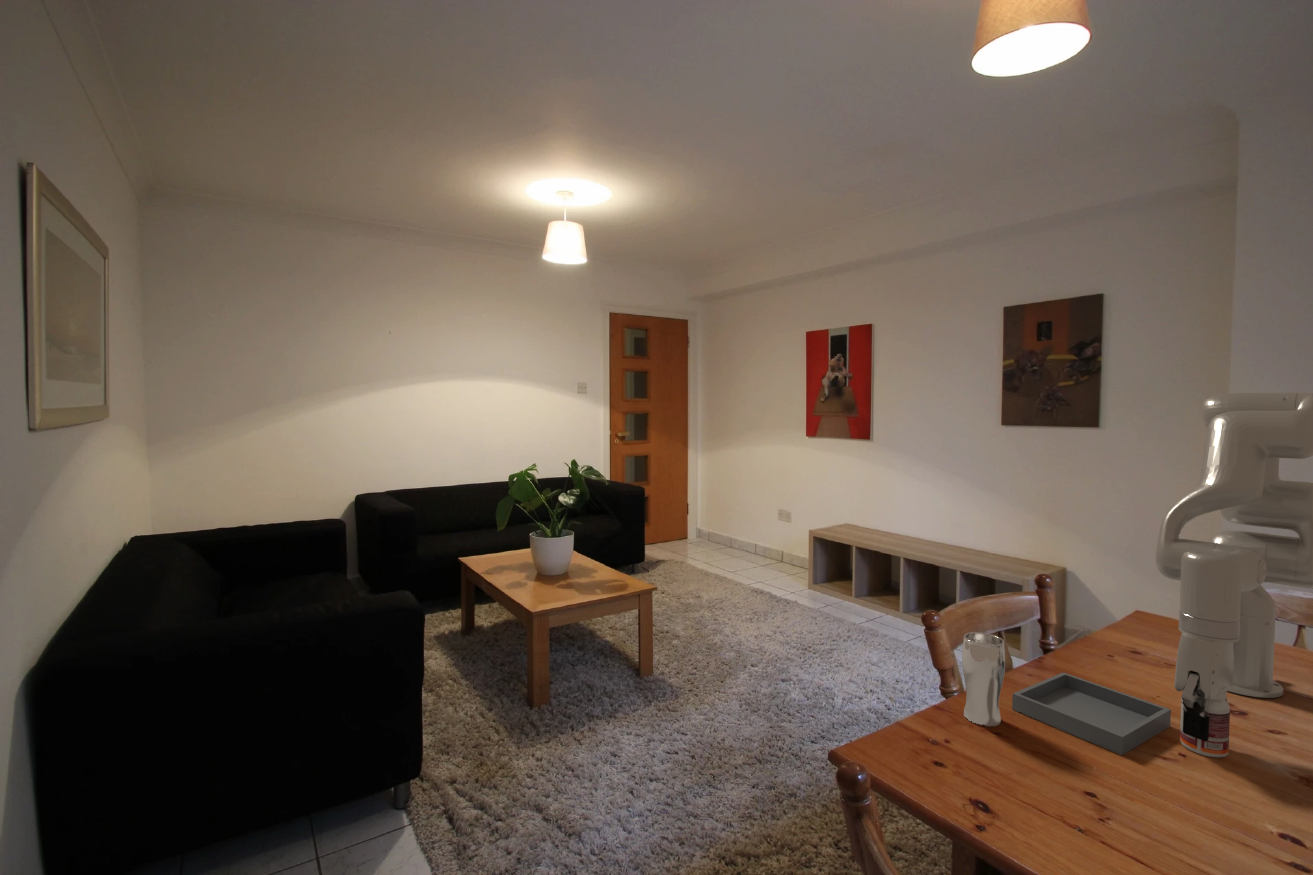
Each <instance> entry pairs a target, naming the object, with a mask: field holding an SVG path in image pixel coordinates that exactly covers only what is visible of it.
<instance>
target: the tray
mask: <svg viewBox="0 0 1313 875" xmlns="http://www.w3.org/2000/svg"><path fill="white" fill-rule="evenodd" d="M1011 704H1012V707H1011V708H1012V709H1013V711H1015V710H1016V711H1015V712H1017V713H1019V712H1021V713H1020V714H1022V713H1023V714H1022V715H1024V714H1025V716H1027V717H1029V716H1030V717H1029V718H1031V717H1032V718H1031V719H1034V720H1036V721H1038V720H1039V722H1041V723H1044V724H1045V725H1049V726H1050V727H1054V728H1056V729H1058V730H1060V731H1062V732H1065V733H1067V734H1069V735H1072V736H1074V737H1076V738H1080V739H1081V740H1084V741H1085V742H1089V743H1091V744H1093V745H1095V746H1099V747H1101V748H1103V749H1105V750H1109V751H1110V752H1112V753H1115V754H1117V755H1120V756H1124V755H1126V754H1127V753H1129V752H1130V751H1131V750H1133V749H1135V748H1137V747H1138V746H1140V745H1141V744H1143V743H1145V742H1147V741H1149V740H1150V739H1152V738H1154V737H1155V736H1156V735H1158V734H1160V733H1161V732H1163V731H1165V730H1167V729H1168V728H1170V727H1171V723H1172V722H1171V718H1172V717H1171V715H1172V709H1171V708H1168V707H1166V706H1162V705H1160V704H1156V703H1153V702H1151V701H1148V700H1145V699H1142V698H1139V697H1135V696H1133V695H1130V694H1127V693H1125V692H1122V691H1118V690H1116V689H1113V688H1110V687H1107V686H1104V685H1101V684H1099V683H1096V682H1093V681H1089V680H1086V679H1083V678H1082V677H1081V678H1080V677H1078V676H1075V675H1072V674H1069V673H1066V672H1063V671H1062V672H1061V673H1058V674H1055V675H1053V676H1051V677H1048V678H1047V679H1044V680H1041V681H1039V682H1037V683H1034V684H1032V685H1030V686H1027V687H1025V688H1023V689H1020V690H1018V691H1017V690H1016V691H1015V692H1013V693H1012V703H1011Z"/></svg>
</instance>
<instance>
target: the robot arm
mask: <svg viewBox="0 0 1313 875" xmlns="http://www.w3.org/2000/svg"><path fill="white" fill-rule="evenodd" d="M1201 416H1202V420H1203V422H1204V425H1205V427H1206V435H1205V442H1204V449H1203V456H1202V462H1201V469H1200V476H1199V482H1198V485H1197V486H1196V487H1195V488H1194V489H1192V490H1191V491H1189V492H1188V493H1185V494H1184V495H1183V496H1182V497H1180V498H1179V499H1178V500H1177V501H1176V502H1175V503H1174V504H1173V505H1172V506H1171V507H1170V508H1169V509H1168V510H1167V511H1166V513H1165V514H1164V516H1163V517H1162V520H1161V523H1160V528H1159V531H1158V539H1157V544H1156V550H1155V564H1156V568H1157V571H1158V572H1159V573H1160V574H1161V575H1162V576H1163V577H1165V578H1167V579H1170V580H1174V581H1180V582H1179V585H1180V587H1179V590H1180V591H1179V609H1178V610H1179V612H1178V613H1179V614H1178V630H1179V632H1181V634H1180V639H1179V643H1178V648H1177V653H1176V664H1175V674H1174V685H1173V686H1174V689H1175V690H1176V691H1177V692H1182V693H1181V697H1180V699H1181V698H1182V700H1183V704H1184V705H1183V711H1184V712H1183V733H1184V734H1186V735H1189V736H1192V737H1195V738H1197V739H1200V740H1203V741H1207V740H1208V739H1209V717H1207V716H1206V715H1207V711H1208V705H1209V700H1212V699H1215V698H1217V697H1218V694H1219V692H1220V690H1221V689H1222V688H1224V687H1226V693H1227V692H1230V693H1234V694H1237V695H1242V696H1246V697H1247V696H1248V697H1253V698H1261V699H1262V698H1263V699H1275V698H1279V697H1282V696H1283V695H1284V688H1283V686H1282V685H1281V684H1280V683H1278V682H1277V681H1275V680H1274V657H1275V638H1276V637H1275V636H1276V633H1275V632H1276V617H1277V616H1276V615H1277V614H1276V613H1277V607H1276V603H1275V601H1274V599H1273V597H1272V596H1271V594H1270V593H1269V592H1268V591H1267V590H1266V588H1264V586H1263V583H1271V584H1277V585H1282V586H1289V587H1296V588H1303V589H1304V588H1305V589H1313V482H1311V481H1310V482H1309V481H1297V480H1282V479H1281V478H1280V476H1279V470H1280V459H1297V460H1299V459H1300V460H1305V459H1308V458H1311V457H1313V392H1239V393H1238V392H1237V393H1235V392H1234V393H1222V394H1217V395H1212V396H1210V397H1208V398H1206V399H1205V400H1204V401H1203V403H1202V405H1201ZM1216 511H1220V513H1221V516H1222V517H1223V519H1225V520H1226V521H1228V522H1230V523H1233V524H1236V525H1237V524H1238V525H1245V526H1253V527H1260V528H1261V527H1262V528H1270V529H1280V530H1287V531H1289V530H1290V531H1293V532H1295V533H1296V534H1297V535H1298V536H1297V537H1296V536H1288V535H1280V534H1270V533H1263V532H1254V531H1245V530H1224V531H1219V532H1216V533H1215V534H1213V535H1212V536H1211V537H1210V538H1209V541H1202V540H1195V539H1188V538H1181V535H1182V531H1183V529H1184V528H1185V527H1186V525H1187V524H1188V523H1190V522H1191V521H1192V520H1194V519H1196V518H1198V517H1200V516H1202V515H1206V514H1208V513H1212V512H1213V513H1214V512H1216ZM1197 691H1198V692H1202V693H1205V695H1204V696H1200V695H1197V694H1196V692H1197ZM1227 697H1228V696H1227V695H1226V699H1224V700H1225V701H1226V702H1227V703H1228V698H1227ZM1195 698H1196V699H1200V700H1202V705H1201V707H1200V705H1199V703H1198V702H1196V699H1195Z"/></svg>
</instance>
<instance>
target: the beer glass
mask: <svg viewBox="0 0 1313 875" xmlns="http://www.w3.org/2000/svg"><path fill="white" fill-rule="evenodd" d="M1005 651H1006V650H1005V640H1004V639H1002V637H999V636H997V635H995V634H992V633H987V632H980V631H971V632H965V633H964V634H963V643H962V654H961V655H962V656H961V662H962V663H961V665H962V673H963V674H962V675H963V681H964V685H965V693H966V698H965V700H966V701H965V705H964V709H963V717H964V718H965V717H966V718H967V719H968V720H967V719H966V718H965V719H966V720H967V721H969V722H971V721H972V722H971V723H973V724H975V723H976V724H975V725H978V724H979V725H978V726H982V725H985V726H984V727H996V726H999V725H1000V724H1001V723H1002V722H1001V721H1002V719H1001V712H1000V695H1001V692H1002V687H1003V683H1004V678H1005V671H1006V670H1005V668H1006V652H1005Z"/></svg>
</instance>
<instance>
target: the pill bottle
mask: <svg viewBox="0 0 1313 875" xmlns="http://www.w3.org/2000/svg"><path fill="white" fill-rule="evenodd" d="M1196 694H1197V695H1200V696H1204V695H1205V693H1202V692H1198V691H1197V692H1196ZM1226 696H1227V692H1226V687H1224V688H1222V689H1221V690H1220V692H1219V694H1218V697H1217V698H1215V699H1212V700H1209V705H1208V711H1207V715H1206V716H1207V717H1209V739H1208V740H1207V741H1203V740H1200V739H1197V738H1195V737H1192V736H1189V735H1186V734H1184V733H1183V712H1184V711H1183V705H1184V704H1183V700H1182V698H1181V697H1180V700H1181V701H1180V722H1179V725H1180V728H1179V731H1180V732H1179V741H1180V743H1181V744H1182V746H1184V748H1186V749H1188V750H1189V751H1192V752H1194V753H1196V754H1198V755H1202V756H1206V757H1210V758H1224V757H1227V756H1228V755H1229V752H1230V722H1231V721H1230V720H1231V706H1230V704H1229V703H1228V701H1227V702H1226V701H1225V700H1224V699H1226ZM1195 699H1196V698H1195ZM1196 702H1198V703H1199V705H1200V707H1201V705H1202V700H1200V699H1196Z"/></svg>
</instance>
